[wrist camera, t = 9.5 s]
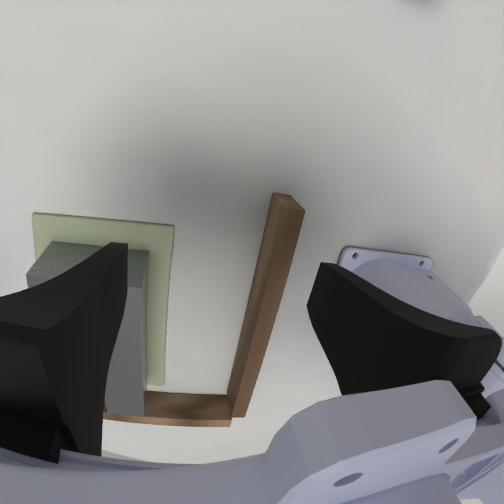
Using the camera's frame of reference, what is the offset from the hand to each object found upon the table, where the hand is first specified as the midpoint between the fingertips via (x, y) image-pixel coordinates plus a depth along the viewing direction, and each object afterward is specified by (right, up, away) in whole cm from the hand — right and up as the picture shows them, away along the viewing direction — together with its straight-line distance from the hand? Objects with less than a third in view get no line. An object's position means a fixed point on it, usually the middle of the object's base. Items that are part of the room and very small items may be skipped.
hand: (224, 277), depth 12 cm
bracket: (-10, -4, +10) cm, 15 cm away
